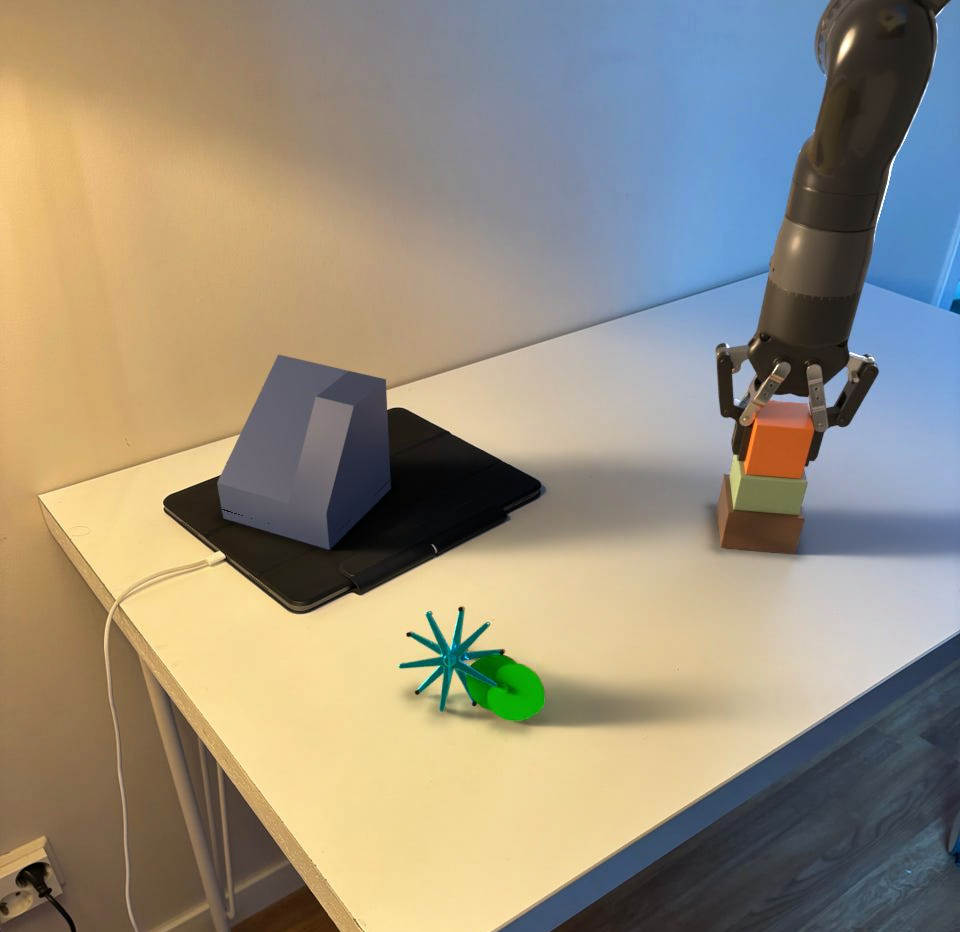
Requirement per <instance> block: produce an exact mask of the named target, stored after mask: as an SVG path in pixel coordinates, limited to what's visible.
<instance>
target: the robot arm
mask: <svg viewBox="0 0 960 932" xmlns="http://www.w3.org/2000/svg"><path fill="white" fill-rule="evenodd" d="M951 1H952V0H829V1H828V3H827V5H826V7H825V8H824V10H823V12H822V14H821V16H820V18H819V21H818V24H817V26H816V30H815V35H814V44H813V45H814V47H813V50H814V57H815V60H816V64H817V67H818V69H819V70H820V72H821V73H822V75H823V76H824V77H825V78H826V80H825V85H824V91H823V95H822V99H821V102H820V107H819V110H818V114H817V118H816V122H815V126H814V130H813V134H812V135H810V136H809V137H808V138H807V139H806V140H805V141H804V142H803V143H802V145H801V148H800V150H799V153H798V155H797V158H796V162H795V165H794V169H793V174H792V178H791V182H790V187H789V191H788V196H787V201H786V206H785V210H784V211H785V212H784V215H783V219H782V222H781V224H780V227H779V230H778V234H777V236H776V239H775V243H774V246H773V250H772V255H771V256H770V259H769V264H768V266H769V268H768V269H769V270H768V275H767V281H766V285H765V289H764V294H763V300H762V302H761V303H762V304H761V309H760V312H759V313H760V314H759V319H758V323H757V327H756V331H755V333H754V335H753V336H752V337H751V338H750V339H749V340H748V342H747V344H744V345H736V346H730V345H729V344H728V343H726V342H721V343H718V344H717V345H716V347H715V363H716V379H717V381H716V382H717V392H718V393H717V394H718V405H719V413H720V416H721V417H722V418H724V419H729V418H730V419H733V420H734V421H735V422H734V427H733V431H732V435H731V440H730V444H731V451H732V454H733V456H734V455H737V460H738V461H746V457H747V452H748V448H749V443H750V439H751V434H752V430H753V424H752V422H753V421H754V419H755V418H756V416H757V415H758V413H759V412H760V410H761V409H762V408H763V407H765V406H766V405H767V403H768V402H769V400H770V401H771V398H773V396H784V395H792V396H793V395H794V396H796V397H800V398H807V399H808V407H809V411H810V415H811V418H812V422H813V426H814V429H815V430H814V434H813V438H812V441H811V445H810V449H809V452H808V456H807V460H806V463H805V467H804V468H808V467H809V464H810V462H815V461H816V460H817V459H818V457H819V453H820V449H821V445H822V442H823V440H824V439H823V438H824V435H825V433H826V431H827V430H829V429H830V428H832V427H839V428H846V427H848V426H850V424H851V423H852V421H853V419H854V417H855V415H856V414H857V412H858V411H859V409H860V407H861V405H862V404H863V401H864V400H865V398H866V397H867V395H868V393H869V392H870V390H871V388H872V386H873V384H874V383H875V381H876V379H877V378H878V375H879V373H880V371H879V368H878V364H877V362H876V360H875V357H874V356H873V355H872V354H870V353H866V354H863V355H858V354H855V353H853V352H850V350H849V341H850V340H849V339H850V337H851V332H852V329H853V325H854V321H855V319H856V315H857V311H858V308H859V304H860V300H861V296H862V293H863V289H864V284H865V282H866V278H867V275H868V271H869V267H870V264H871V260H872V256H873V251H874V244H875V238H876V237H875V236H876V231H877V227H878V221H879V218H880V214H881V210H882V207H883V203H884V200H885V196H886V193H887V189H888V186H889V181H890V177H891V172H892V168H893V164H894V161H895V158H896V156H897V154H898V153H899V151H900V150H901V147H902V146H903V143H904V141H905V139H906V137H907V135H908V133H909V130H910V128H911V126H912V123H913V121H914V119H915V117H916V114H917V113H918V110H919V107H920V105H921V103H922V100H923V98H924V96H925V94H926V91H927V88H928V85H929V82H930V79H931V75H932V72H933V70H934V69H933V68H934V64H935V59H936V54H937V50H938V49H937V48H938V39H939V38H938V36H939V32H938V23H937V19H936V18H937V16H939V14H940V13H941V12H942V11H943V10H944V9H945V7H947V6H948V4H950V2H951ZM747 360H748V361H749V363H750V365H751V366H752V368H753V370H754V372H755V375H754V376H753V378H752V379H751V381H750V382H749V385H748V389H747V391H746V392H745V394H744V395H743V397H742V399H741V400H739V399H736V398H735V397H734V380H733V374H734V375H735V374H737V373H739V372H740V371H741V369H742V364H744V362H745V361H747ZM845 368H846V371H845V374H846V377H847V381H846V383H845V385H844V387H843V388H842V390H841V391H840V393H839V395H838V397H837V399H836V401H835V403H834V404H833V405H831V406H828V407H827V400H826V393H825V387H824V386H825V385H826V384H828V383H829V382H830V381H831V380H832V379H834V378H835V377H836V375H838V374H839V373H840V372H841V371H842V370H844V369H845Z"/></svg>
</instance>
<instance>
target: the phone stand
mask: <svg viewBox="0 0 960 932" xmlns="http://www.w3.org/2000/svg"><path fill="white" fill-rule="evenodd" d="M387 395H388V393H387V379H386V378H383V377H377V376H374V375H369V374H365V373H361V372H357V371H351V370H347V369H343V368H339V367H334V366H331V365H326V364H321V363H318V362H313V361H309V360H304V359H300V358H297V357H296V358H295V357H291V356H286V355H282V354H277V355H276V358H275V360H274V362H273V364H272V366H271V368H270V371H269V373H268V374H267V377H266V379H265V381H264V383H263V386H262V387H261V390H260V392H259V394H258V396H257V398H256V400H255V402H254V404H253V406H252V408H251V410H250V413H249V415H248V417H247V419H246V421H245V423H244V425H243V427H242V430H241V431H240V434H239V436H238V438H237V439H236V442H235V444H234V446H233V448H232V451H231V453H230V454H229V457H228V459H227V460H226V463H225V465H224V467H223V469H222V471H221V473H220V475H219V478H218V480H217V482H216V484H217V485H216V486H217V490H218V497H219V502H220V507H221V513H222V518H223V519H224V520H228V521H231V522H233V523H234V522H235V523H237V524H241V525H244V526H248V527H251V528H254V529H258V530H261V531H265V532H267V533H271V534H275V535H278V536H282V537H285V538H288V539H291V540H294V541H299V542H302V543H305V544H309V545H312V546H315V547H319V548H322V549H324V550H329V551H330V550H331V549H332V548H333V547H335V545H336V544H337V543H338V542H339V541H340V540H341V539H342V538H343V537H344V536H345V535H346V534H347V533H348V532H349V531H350V530H351V529H352V528H353V527H354V526H355V525H356V524H357V523H358V522H359V521H360V520H361V519H362V518H364V516H366V514H367V513H368V512H369V511H370V510H372V508H373V507H374V506H376V504H377V503H378V502H379V501H380V500H381V499H382V498H383V497H384V496H385V495H387V493H388V492H389V491H391V489H392V482H391V461H390V460H391V459H390V440H389V439H390V438H389V419H388V418H389V414H388V396H387ZM389 479H390V481H389V482H388V483H387V481H388V480H389ZM385 483H387V484H386V485H385ZM384 485H385V486H384ZM383 486H384V487H383ZM382 487H383V488H382ZM381 488H382V489H381ZM380 489H381V490H380ZM379 490H380V491H379ZM378 491H379V492H378ZM377 492H378V493H377ZM376 493H377V494H376ZM375 494H376V495H375ZM374 495H375V496H374ZM362 507H363V508H362ZM222 509H225V510H228V511H231V512H233V513H231V512H227V511H224V510H222ZM234 513H237V514H234ZM238 514H240V515H238ZM241 515H243V516H241ZM251 518H252V519H251ZM351 518H352V519H351ZM349 520H350V521H349ZM348 521H349V522H348ZM268 523H269V524H268ZM346 523H347V524H346ZM345 524H346V525H345ZM343 526H344V527H343ZM342 527H343V528H342ZM341 528H342V529H341ZM340 529H341V530H340ZM339 530H340V531H339ZM338 531H339V532H338ZM337 532H338V533H337ZM329 540H330V541H329Z"/></svg>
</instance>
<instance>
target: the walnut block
mask: <svg viewBox="0 0 960 932" xmlns="http://www.w3.org/2000/svg"><path fill="white" fill-rule="evenodd" d="M729 476H730V473H724V474H723V476H722V481H721V485H720V490H719V494H718V499H717V500H718V501H717V504H716V515H717V523H718V533H719V544H720V548H722V549H732V550H743V551H745V550H746V551H754V552H764V553H765V552H767V553H776V554H777V553H778V554H787V555H788V554H790V555H796V553H797V550H798V546H799V542H800V539H801V535H802V532H803V528H804V524H805V520H806V518H805V513H804V509H803V505H802V506H801V510H800V514H799V515H789V514H778V513H766V512H754V511H742V510H734V509H733V501H732V493H731V485H730V477H729Z"/></svg>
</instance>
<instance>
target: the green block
mask: <svg viewBox="0 0 960 932" xmlns="http://www.w3.org/2000/svg"><path fill="white" fill-rule="evenodd" d="M729 474H730V476H729V477H730V485H731V493H732V501H733V509H734V510H742V511H754V512H766V513H778V514H789V515H799V514H800V510H801V506H802V507H803V502H804V498H805V495H806V492H807V489H808V488H807V487H808V484H809V483H808V478H807V474H806V470H805V469H804V471H803V474H802V478H801V479H797V478H785V477H773V476H761V475H749V474H746V473H745V467H744V461H738V460H737V455H733V458H732V462H731V467H730V472H729Z"/></svg>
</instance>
